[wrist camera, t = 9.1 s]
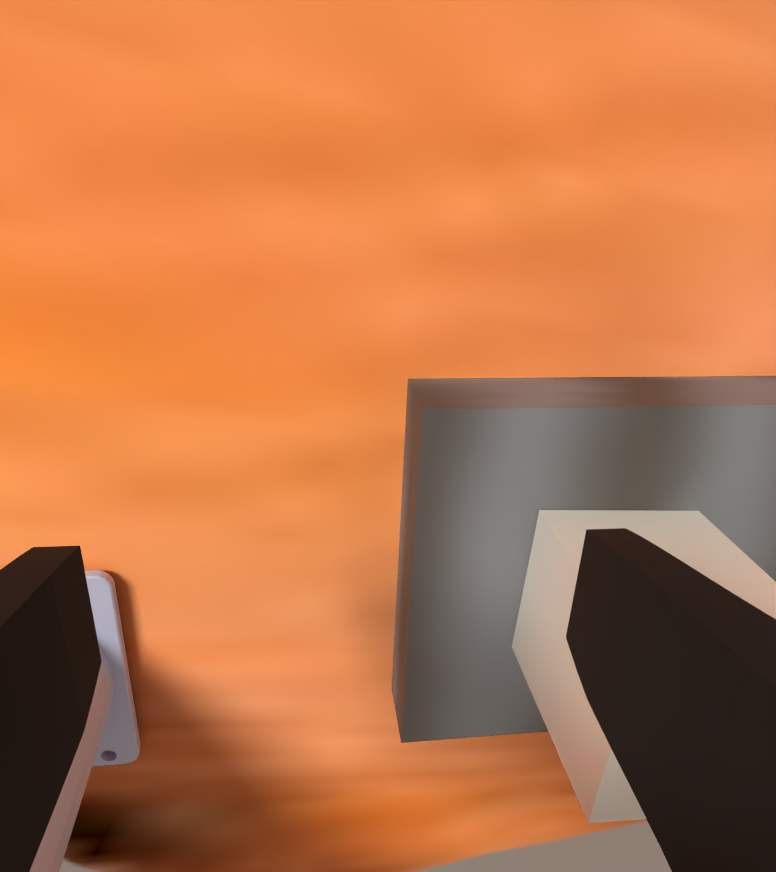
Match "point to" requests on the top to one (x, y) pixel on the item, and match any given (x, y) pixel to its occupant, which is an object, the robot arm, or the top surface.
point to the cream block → (548, 621)
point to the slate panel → (549, 490)
